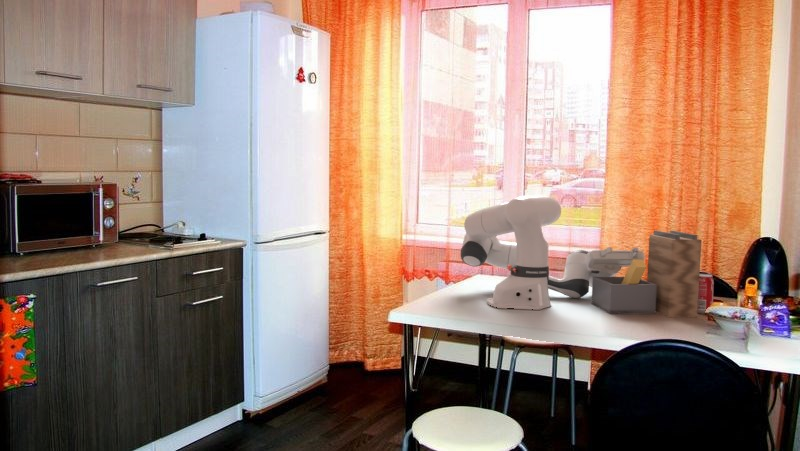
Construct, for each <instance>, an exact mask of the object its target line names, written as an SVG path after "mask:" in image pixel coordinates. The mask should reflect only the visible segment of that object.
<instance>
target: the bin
mask: <svg viewBox="0 0 800 451" xmlns="http://www.w3.org/2000/svg"><path fill="white" fill-rule="evenodd" d="M624 277H625V276H614V277H593V284H592V287H591V288H592V289H591V305H593V306H595V307H596V308H599V309H600V310H602V311H603V312H605V313H607V314H610V315H624V314H625V315H641V314H642V315H644V314H645V315H649V314H650V315H651V314H652V315H653V314H654V315H656V311H655V309H656V290H657V285H656V284H653V283H651V282H648V281H647V280H645V279H642V278H641V279H640V281H639V283H638V284H621V283H622V281H623V279H624Z"/></svg>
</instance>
